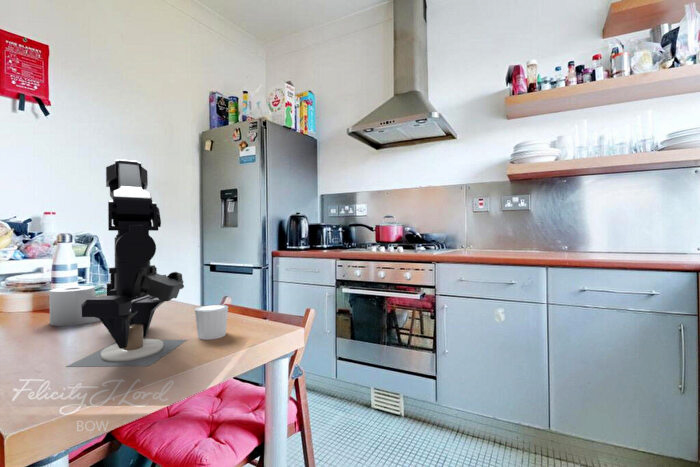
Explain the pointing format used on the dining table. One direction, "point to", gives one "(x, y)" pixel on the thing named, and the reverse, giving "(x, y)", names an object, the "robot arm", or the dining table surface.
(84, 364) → the mat
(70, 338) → the dining table surface
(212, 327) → the white cup
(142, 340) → the lid
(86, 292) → the toilet tissue
